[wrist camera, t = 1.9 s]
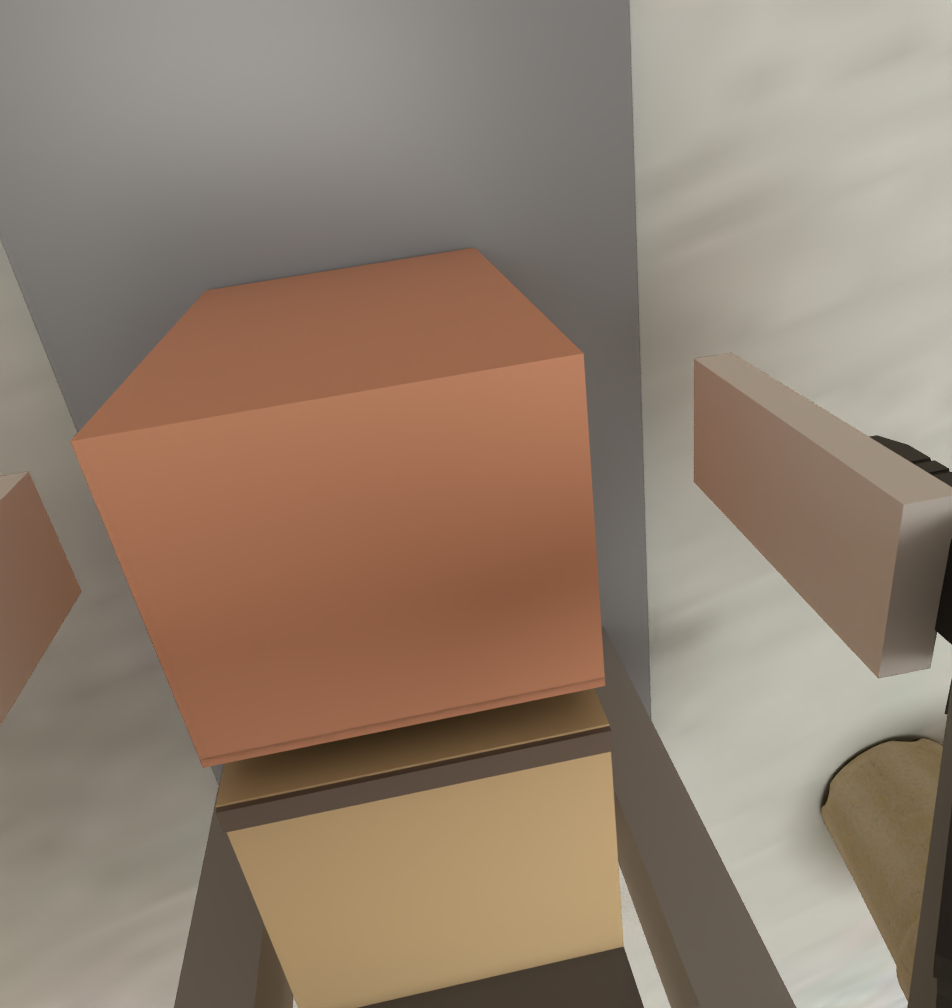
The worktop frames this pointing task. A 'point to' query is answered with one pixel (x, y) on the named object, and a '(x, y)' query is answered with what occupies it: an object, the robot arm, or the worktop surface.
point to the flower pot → (888, 836)
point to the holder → (613, 452)
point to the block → (355, 504)
